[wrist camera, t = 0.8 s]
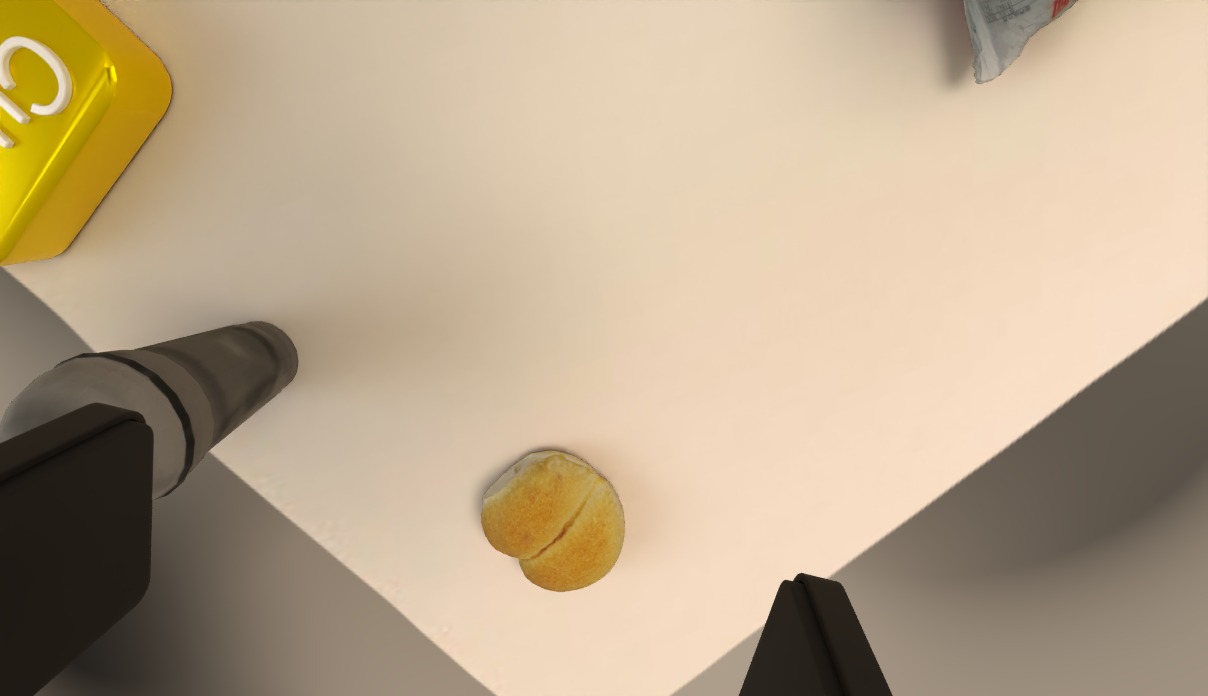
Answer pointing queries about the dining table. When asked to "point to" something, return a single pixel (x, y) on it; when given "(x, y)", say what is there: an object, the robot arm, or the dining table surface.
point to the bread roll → (555, 520)
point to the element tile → (67, 118)
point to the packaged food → (1006, 30)
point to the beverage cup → (168, 391)
